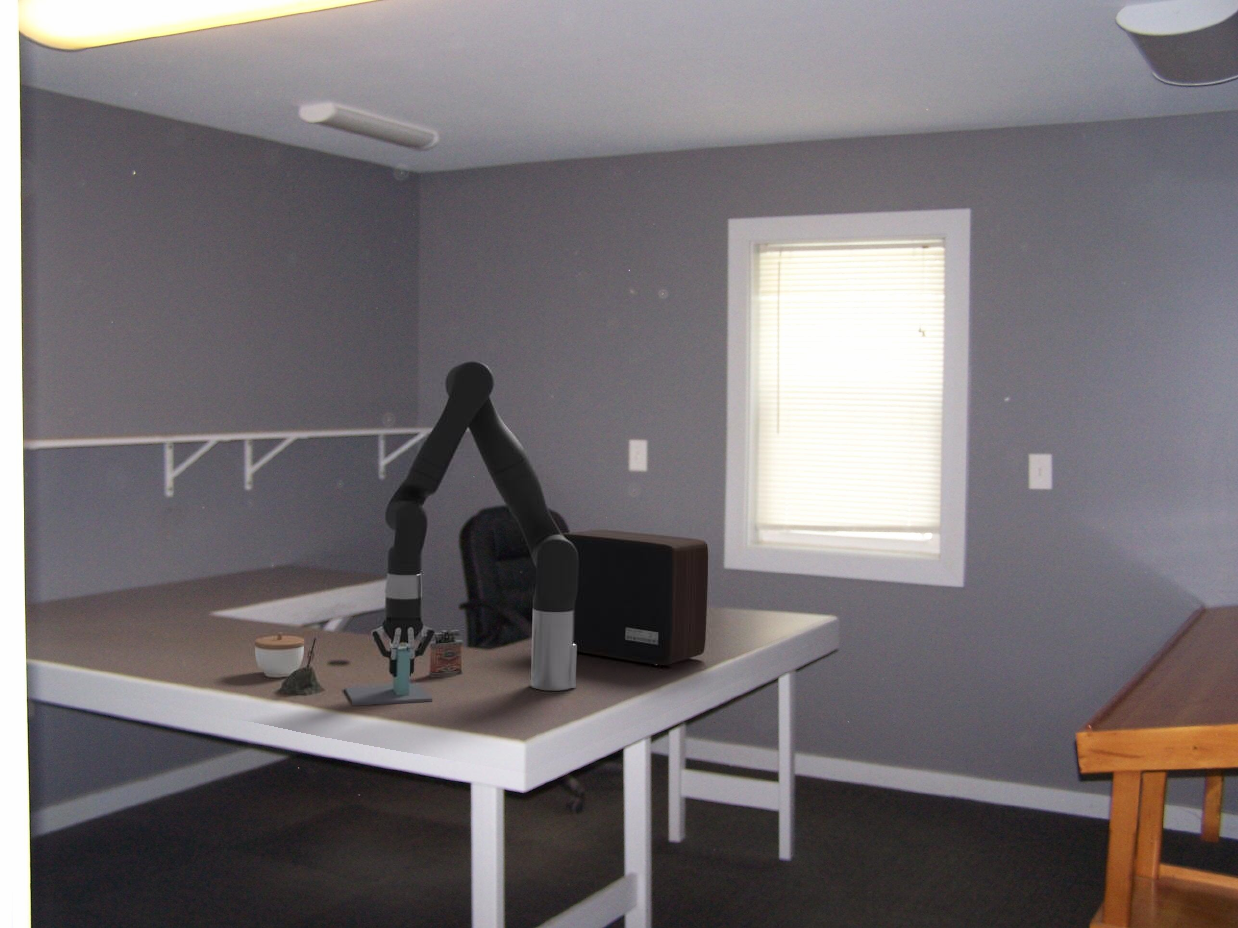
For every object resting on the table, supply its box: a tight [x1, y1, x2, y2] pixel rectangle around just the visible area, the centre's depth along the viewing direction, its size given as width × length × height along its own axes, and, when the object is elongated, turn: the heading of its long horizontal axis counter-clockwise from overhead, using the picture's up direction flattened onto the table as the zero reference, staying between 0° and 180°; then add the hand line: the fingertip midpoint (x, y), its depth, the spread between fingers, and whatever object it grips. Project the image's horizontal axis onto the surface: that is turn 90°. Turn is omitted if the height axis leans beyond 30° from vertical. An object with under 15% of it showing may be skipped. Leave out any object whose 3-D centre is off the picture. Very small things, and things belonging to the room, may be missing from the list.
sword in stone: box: [280, 637, 325, 696], centre depth 259 cm, size 10×8×12 cm
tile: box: [392, 645, 411, 695], centre depth 257 cm, size 2×6×9 cm, turn 20°
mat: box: [344, 682, 433, 707], centre depth 256 cm, size 16×14×1 cm
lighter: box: [428, 629, 464, 678], centre depth 278 cm, size 8×3×10 cm, turn 126°
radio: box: [562, 529, 709, 666], centre depth 305 cm, size 36×18×30 cm, turn 56°
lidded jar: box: [254, 632, 305, 678], centre depth 273 cm, size 11×11×9 cm
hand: (401, 675), depth 257 cm, fingers closed on tile, 2 cm apart
